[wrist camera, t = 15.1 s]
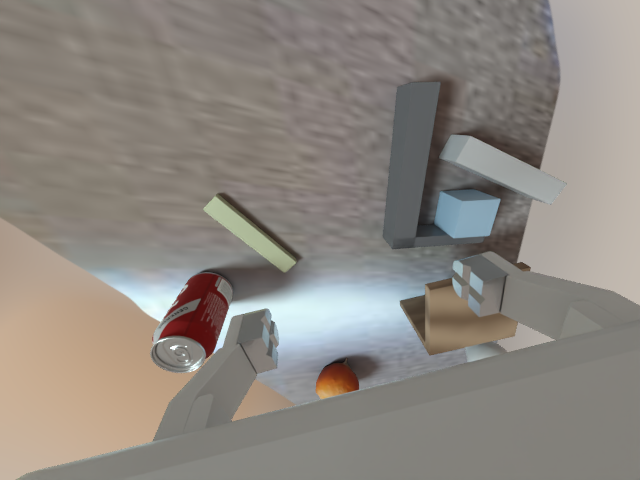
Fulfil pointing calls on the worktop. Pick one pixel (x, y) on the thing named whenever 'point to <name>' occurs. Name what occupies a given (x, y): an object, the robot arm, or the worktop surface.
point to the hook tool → (413, 170)
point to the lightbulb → (483, 351)
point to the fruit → (336, 380)
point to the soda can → (192, 324)
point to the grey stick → (501, 168)
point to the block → (466, 213)
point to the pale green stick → (249, 233)
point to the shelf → (453, 319)
